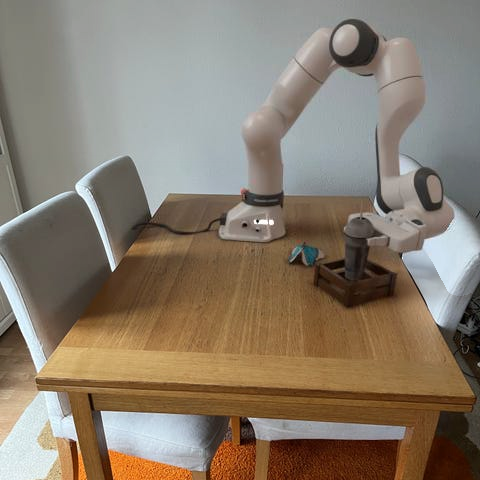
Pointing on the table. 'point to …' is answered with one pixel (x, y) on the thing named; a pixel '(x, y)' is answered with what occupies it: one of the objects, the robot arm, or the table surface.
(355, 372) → the table surface
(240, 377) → the table surface
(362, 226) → the beverage cup
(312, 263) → the decorative butterfly
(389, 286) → the crate
